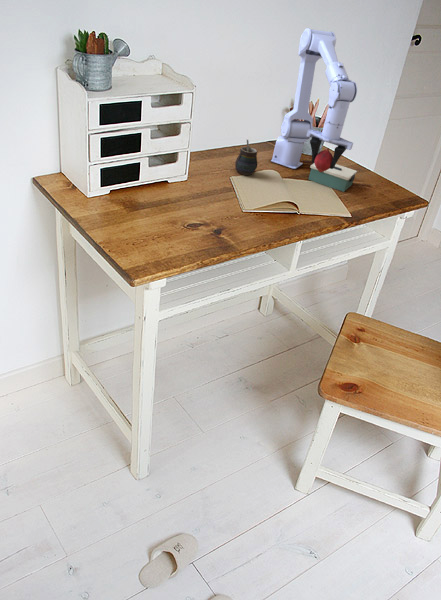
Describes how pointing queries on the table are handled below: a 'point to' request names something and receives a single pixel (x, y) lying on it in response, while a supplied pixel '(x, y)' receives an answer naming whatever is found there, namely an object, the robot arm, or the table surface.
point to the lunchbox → (333, 177)
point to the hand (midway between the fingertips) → (322, 164)
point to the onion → (323, 160)
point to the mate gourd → (246, 160)
